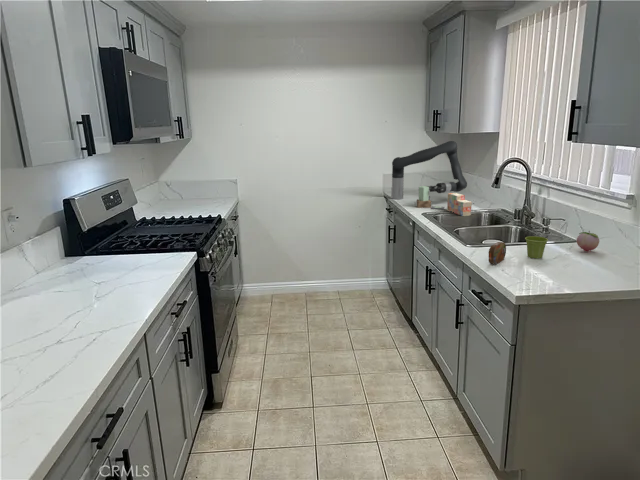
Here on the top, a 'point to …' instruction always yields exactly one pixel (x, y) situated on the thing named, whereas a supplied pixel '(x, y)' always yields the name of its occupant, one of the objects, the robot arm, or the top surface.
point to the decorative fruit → (587, 241)
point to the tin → (497, 253)
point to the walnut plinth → (423, 204)
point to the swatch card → (437, 207)
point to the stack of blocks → (459, 204)
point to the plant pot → (535, 246)
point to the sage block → (423, 193)
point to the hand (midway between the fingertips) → (426, 189)
